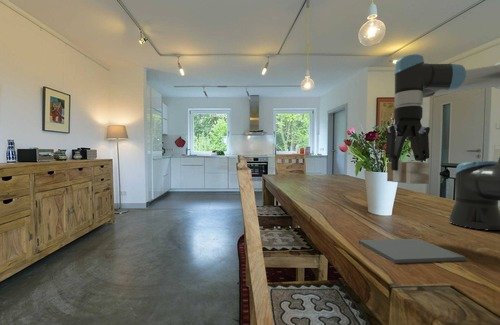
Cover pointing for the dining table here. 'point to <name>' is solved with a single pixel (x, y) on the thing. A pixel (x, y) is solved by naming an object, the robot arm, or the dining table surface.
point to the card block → (411, 173)
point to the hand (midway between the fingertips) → (406, 181)
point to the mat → (410, 250)
